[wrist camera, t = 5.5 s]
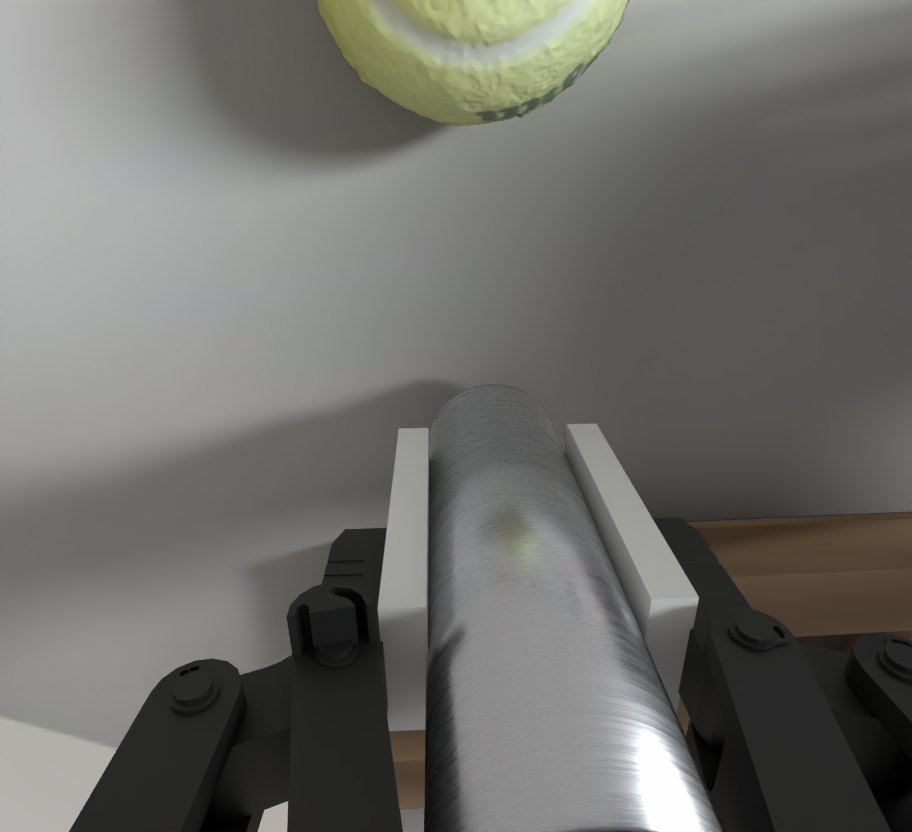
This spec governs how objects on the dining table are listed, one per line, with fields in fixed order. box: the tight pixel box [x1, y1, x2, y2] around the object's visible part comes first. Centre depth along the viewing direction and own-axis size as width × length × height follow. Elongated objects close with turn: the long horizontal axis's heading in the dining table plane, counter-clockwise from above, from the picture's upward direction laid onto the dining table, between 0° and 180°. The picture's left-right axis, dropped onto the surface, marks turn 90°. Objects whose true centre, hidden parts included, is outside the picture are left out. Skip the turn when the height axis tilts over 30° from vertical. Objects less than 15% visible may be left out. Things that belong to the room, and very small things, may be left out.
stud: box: [424, 384, 727, 832], centre depth 12 cm, size 4×4×13 cm
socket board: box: [389, 512, 912, 809], centre depth 22 cm, size 10×22×3 cm, turn 91°
